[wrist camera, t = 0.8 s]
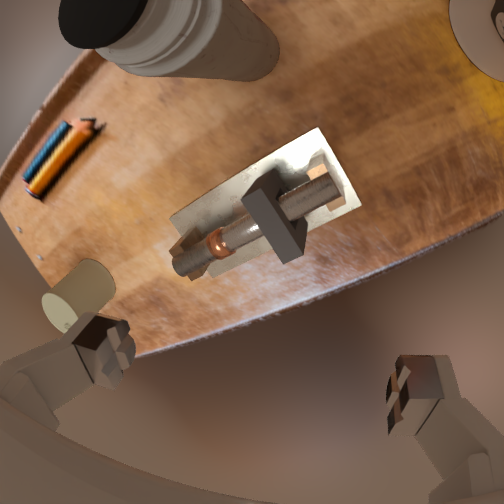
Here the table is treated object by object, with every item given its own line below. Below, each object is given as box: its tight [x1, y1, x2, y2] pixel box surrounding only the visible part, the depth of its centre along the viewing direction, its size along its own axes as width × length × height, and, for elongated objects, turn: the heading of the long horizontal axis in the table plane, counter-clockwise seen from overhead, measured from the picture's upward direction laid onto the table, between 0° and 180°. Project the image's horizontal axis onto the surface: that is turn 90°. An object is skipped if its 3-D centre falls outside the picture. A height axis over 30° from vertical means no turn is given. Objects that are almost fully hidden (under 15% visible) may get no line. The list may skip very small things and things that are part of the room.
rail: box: [169, 127, 362, 281], centre depth 39 cm, size 24×11×8 cm, turn 124°
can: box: [42, 259, 115, 334], centre depth 51 cm, size 9×9×12 cm
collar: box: [240, 168, 308, 264], centre depth 35 cm, size 2×8×8 cm, turn 34°
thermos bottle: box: [58, 0, 280, 82], centre depth 21 cm, size 8×8×28 cm
